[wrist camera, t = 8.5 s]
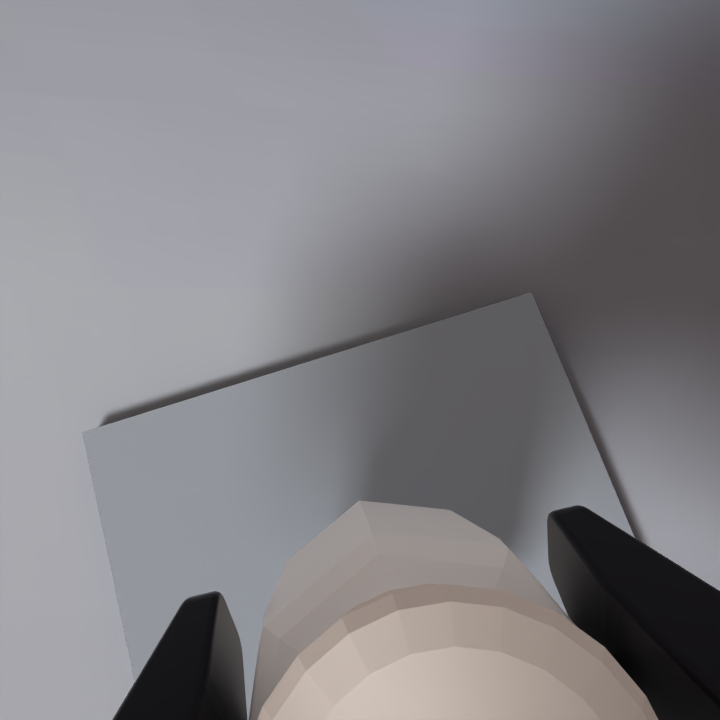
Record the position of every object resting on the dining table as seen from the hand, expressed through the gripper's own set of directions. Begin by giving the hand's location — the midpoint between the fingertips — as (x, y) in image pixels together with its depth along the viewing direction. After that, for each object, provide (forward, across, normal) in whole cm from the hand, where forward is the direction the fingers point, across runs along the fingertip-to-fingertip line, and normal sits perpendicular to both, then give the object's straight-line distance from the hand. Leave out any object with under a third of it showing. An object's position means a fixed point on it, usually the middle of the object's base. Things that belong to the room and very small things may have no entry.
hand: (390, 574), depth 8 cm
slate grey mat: (+7, 0, +9) cm, 11 cm away
